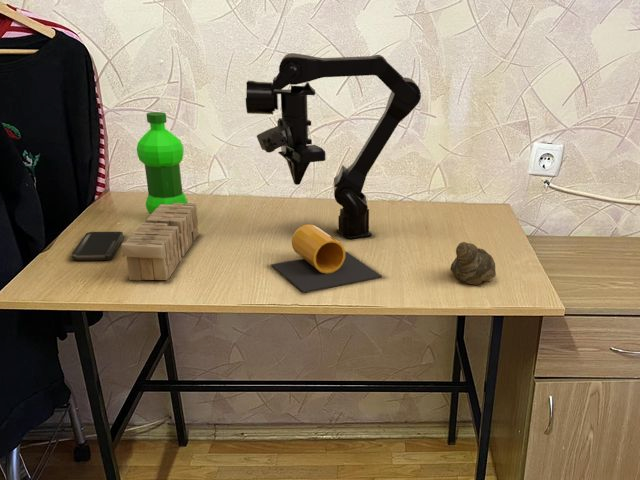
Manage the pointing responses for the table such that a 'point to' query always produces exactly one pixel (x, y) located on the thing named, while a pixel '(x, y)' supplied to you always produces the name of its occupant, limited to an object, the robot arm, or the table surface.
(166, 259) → the block tower
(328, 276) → the mat
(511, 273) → the table surface
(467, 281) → the seashell
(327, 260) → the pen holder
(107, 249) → the phone
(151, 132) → the plastic bottle
